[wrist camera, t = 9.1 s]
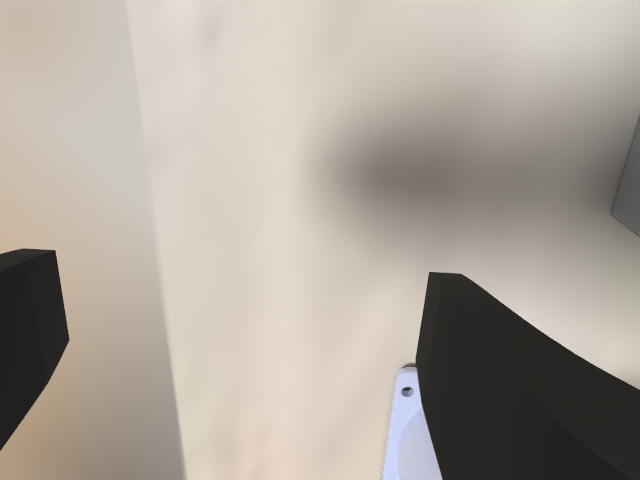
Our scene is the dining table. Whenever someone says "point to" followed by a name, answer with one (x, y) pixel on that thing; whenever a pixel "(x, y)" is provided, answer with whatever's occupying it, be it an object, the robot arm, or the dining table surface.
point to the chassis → (630, 189)
